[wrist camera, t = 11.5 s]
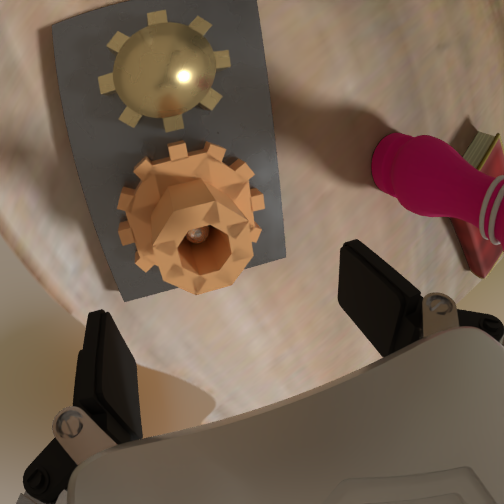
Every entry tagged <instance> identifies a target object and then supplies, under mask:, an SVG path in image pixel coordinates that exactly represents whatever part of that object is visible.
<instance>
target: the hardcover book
mask: <svg viewBox="0 0 504 504" xmlns="http://www.w3.org/2000/svg"><path fill="white" fill-rule="evenodd" d="M463 158H464V159H465V160H466V161H467V162H468V163H469V164H470V165H472V166H473V167H474V168H476V169H477V170H478V171H480V172H482V173H484V174H486V175H488V176H491V177H494V178H497V177H498V176H501V175H504V148H503V144H502V140H501V137H500V134H499V133H497V134H496V136H492V135H488V134H485V133H482V132H478V133H477V135H476V136H475V138H474V140H473V141H472V143H471V144H470V146H469V148H468V149H467V151H466V152H465V154H464V155H463ZM450 219H451V222H452V224H453V226H454V229H455V231H456V234H457V236H458V239H459V241H460V244H461V246H462V249H463V251H464V254H465V257H466V260H467V262H468V265H469V268H470V271H471V272H472V273H473V274H475V275H476V276H477V277H479V278H481V279H486V278H487V276H488V275H489V273H490V272H491V270H492V269H493V267H494V266H495V264H496V263H497V261H498V260H499V258H500V257H501V255H502V254H503V248H502V245H501V244H498V245H494V244H493V243H492V242H491V241H490V240H487V239H484V238H483V237H482V235H481V233H480V229H479V228H477V227H476V226H474V225H473V224H471V223H468V222H466V221H464V220H461V219H458V218H454V217H450Z"/></svg>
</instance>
